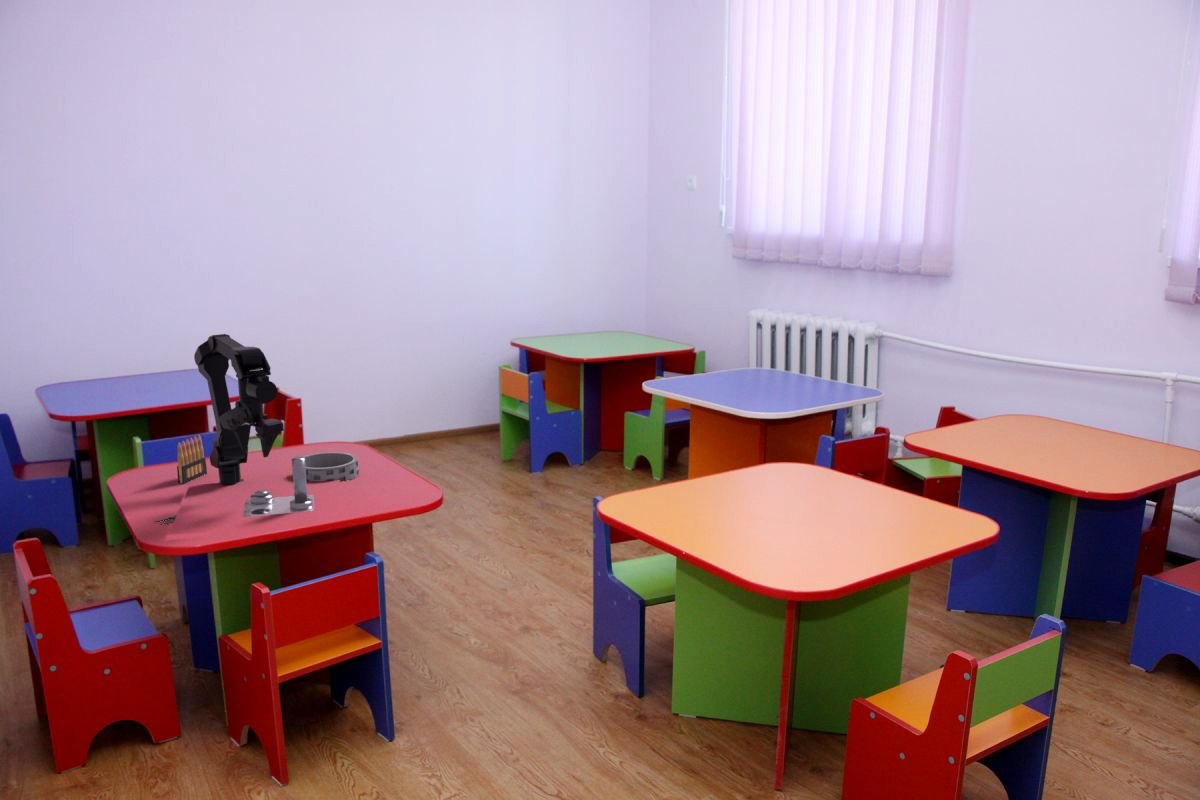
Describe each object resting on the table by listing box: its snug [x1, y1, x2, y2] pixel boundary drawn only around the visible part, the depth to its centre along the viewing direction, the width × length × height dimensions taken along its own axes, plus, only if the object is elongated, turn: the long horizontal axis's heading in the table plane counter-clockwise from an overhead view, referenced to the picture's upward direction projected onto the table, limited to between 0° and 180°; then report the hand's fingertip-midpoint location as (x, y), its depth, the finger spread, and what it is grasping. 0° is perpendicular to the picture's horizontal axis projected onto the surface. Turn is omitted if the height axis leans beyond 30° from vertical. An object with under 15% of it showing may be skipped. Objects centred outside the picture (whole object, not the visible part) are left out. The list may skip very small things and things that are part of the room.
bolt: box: [290, 456, 313, 510], centre depth 242 cm, size 6×6×13 cm
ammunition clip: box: [176, 434, 208, 485], centre depth 271 cm, size 11×2×12 cm, turn 167°
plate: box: [242, 494, 315, 518], centre depth 245 cm, size 14×17×1 cm
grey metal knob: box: [250, 489, 274, 504], centre depth 248 cm, size 6×6×2 cm
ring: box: [302, 451, 360, 483], centre depth 274 cm, size 18×18×5 cm
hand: (255, 454), depth 249 cm, fingers open, 9 cm apart
